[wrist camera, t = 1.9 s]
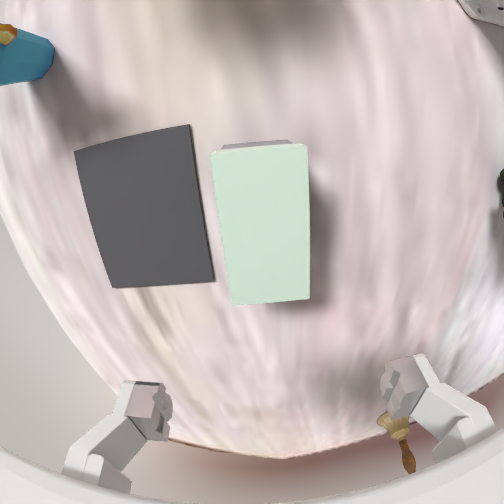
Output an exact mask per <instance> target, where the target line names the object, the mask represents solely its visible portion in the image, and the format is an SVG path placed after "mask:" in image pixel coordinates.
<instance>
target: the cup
mask: <svg viewBox="0 0 504 504" xmlns="http://www.w3.org/2000/svg"><path fill="white" fill-rule="evenodd" d="M54 49H55V48H54V47H53V45H52V44H51V43H50V42H49V40H48V39H45V38H43V37H40V36H37V35H35V34H32V33H29V32H26V31H23V30H20V29H17V28H14V27H13V26H12V25H10V24H1V23H0V86H3V85H8V84H14V83H20V82H26V81H32V80H36V79H41V78H42V77H43V75H44V74H45V73H46V72H47V70H48V69H49V68H50V66H51V65H52V61H53V55H54Z"/></svg>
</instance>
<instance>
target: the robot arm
mask: <svg viewBox="0 0 504 504" xmlns="http://www.w3.org/2000/svg"><path fill="white" fill-rule="evenodd" d="M458 1H459V3H460V4H461V6H462V7H463V9H464V10H465V11H466V13H467V14H468V15H469V16H470V17H471V18H473V19H477V20H481V21H485V22H489V23H493V24H496V25H500V26H503V27H504V0H458ZM384 369H385V371H386V372H385V373H384V374H383V375H382V376H381V379H380V391H381V394H382V397H383V398H384V399H385V400H387V401H388V403H387V406H386V408H387V410H388V413H389V416H390V418H391V420H393V419H397V418H401V417H405V416H408V415H410V416H411V417H412V418H413V419H414V420H416V421H417V422H418V423H419V424H420V425H422V426H423V427H424V428H425V429H426V430H428V431H429V432H430V433H431V434H432V435H434V436H435V437H436V438H437V439H438V440H440V442H439V443H438V445H437V446H436V447H435V448H434V449H433V450H432V455H433V458H434V461H435V464H434V465H432V466H429V467H427V468H424V469H422V470H419V471H417V472H414V473H411V474H409V475H406V476H403V477H401V478H397V479H394V480H391V481H388V482H385V483H382V484H378V485H374V486H371V487H367V488H363V489H360V490H355V491H351V492H347V493H342V494H337V495H332V496H327V497H321V498H315V499H308V500H301V501H294V502H293V501H292V502H283V503H272V504H504V428H502V429H501V430H499V431H498V430H497V428H496V427H495V424H494V422H493V421H492V419H491V417H490V415H489V413H488V411H487V409H486V407H485V406H483V405H481V404H479V403H478V402H476V401H474V400H473V399H471V398H469V397H468V396H466V395H464V394H462V393H461V392H459V391H457V390H456V389H454V388H452V387H451V386H449V385H447V384H446V383H444V382H443V383H440V381H439V379H438V377H437V376H436V374H435V372H434V370H433V368H432V367H431V365H430V363H429V361H428V360H427V358H426V356H425V355H424V354H423V353H420V354H416V355H413V356H407V357H404V358H400V359H396V360H392V361H388V362H387V363H386V365H385V367H384ZM165 390H166V388H165V386H164V384H163V383H154V382H140V381H127V380H125V381H124V382H123V383H122V385H121V388H120V391H119V394H118V397H117V400H116V403H115V406H114V410H113V412H112V414H108V415H107V416H106V417H105V418H103V419H102V420H101V421H100V422H99V423H98V424H96V425H95V426H94V427H93V428H92V429H91V430H89V431H88V432H87V433H86V434H85V435H83V436H82V437H81V438H80V439H79V440H77V441H76V442H75V443H74V444H73V445H71V447H70V448H69V451H68V454H67V458H66V461H65V464H64V467H63V470H62V474H60V473H57V472H55V471H52V470H50V469H47V468H45V467H42V466H40V465H38V464H35V463H33V462H31V461H29V460H27V459H25V458H23V457H20V456H18V455H16V454H14V453H13V452H11V451H8V450H7V449H5V448H2V447H0V504H199V503H187V502H177V501H169V500H162V499H155V498H149V497H143V496H138V495H132V494H130V489H131V483H132V481H131V480H130V478H128V477H127V476H126V475H124V474H123V473H122V472H121V471H122V470H123V469H124V467H125V466H126V465H127V464H128V463H129V462H130V461H131V459H132V458H133V457H134V456H135V455H136V454H137V453H138V451H139V450H140V449H141V448H142V447H143V445H144V444H145V443H146V442H147V440H154V441H168V436H169V430H170V426H169V425H168V423H167V422H168V421H169V420H170V419H171V418H172V412H173V404H172V400H171V397H170V395H168V394H167V393H165Z"/></svg>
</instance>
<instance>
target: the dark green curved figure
mask: <svg viewBox="0 0 504 504" xmlns="http://www.w3.org/2000/svg"><path fill="white" fill-rule="evenodd" d="M500 178H501V180H502V182H503V183H504V169H503V170H502V171H501V173H500ZM502 196H503V198H502V205H503V207H504V190H503V194H502ZM503 218H504V213H503Z"/></svg>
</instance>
